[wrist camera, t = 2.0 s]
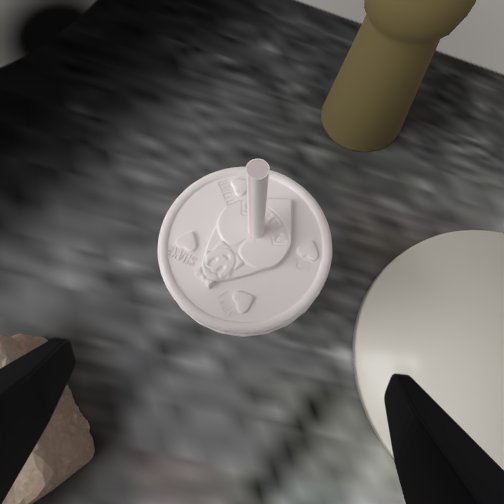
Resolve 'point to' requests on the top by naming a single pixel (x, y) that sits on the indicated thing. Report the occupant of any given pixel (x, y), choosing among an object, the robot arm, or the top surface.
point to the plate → (438, 333)
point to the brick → (48, 437)
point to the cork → (386, 69)
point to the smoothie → (245, 250)
